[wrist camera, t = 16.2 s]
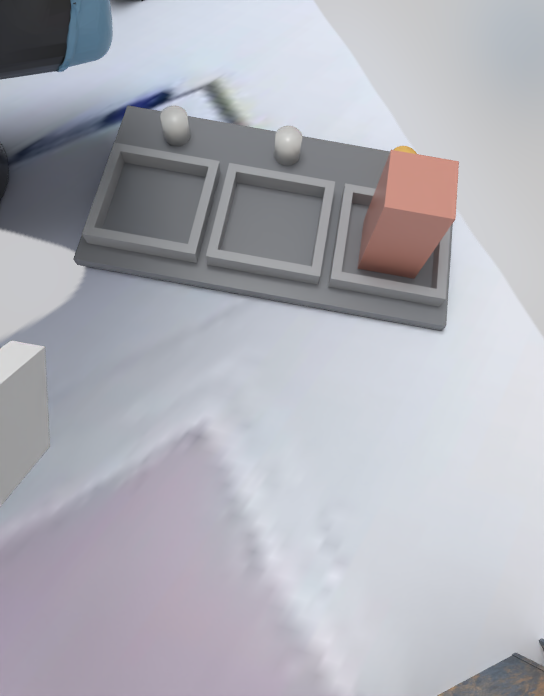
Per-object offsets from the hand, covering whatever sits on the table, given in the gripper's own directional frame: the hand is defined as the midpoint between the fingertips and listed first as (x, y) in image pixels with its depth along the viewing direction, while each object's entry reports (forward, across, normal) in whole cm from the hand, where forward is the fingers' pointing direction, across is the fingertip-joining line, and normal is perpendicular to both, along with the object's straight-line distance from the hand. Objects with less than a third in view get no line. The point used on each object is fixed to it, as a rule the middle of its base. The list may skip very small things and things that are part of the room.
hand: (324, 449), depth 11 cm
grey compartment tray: (+37, -4, -2) cm, 37 cm away
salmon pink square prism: (+35, +6, -3) cm, 36 cm away
